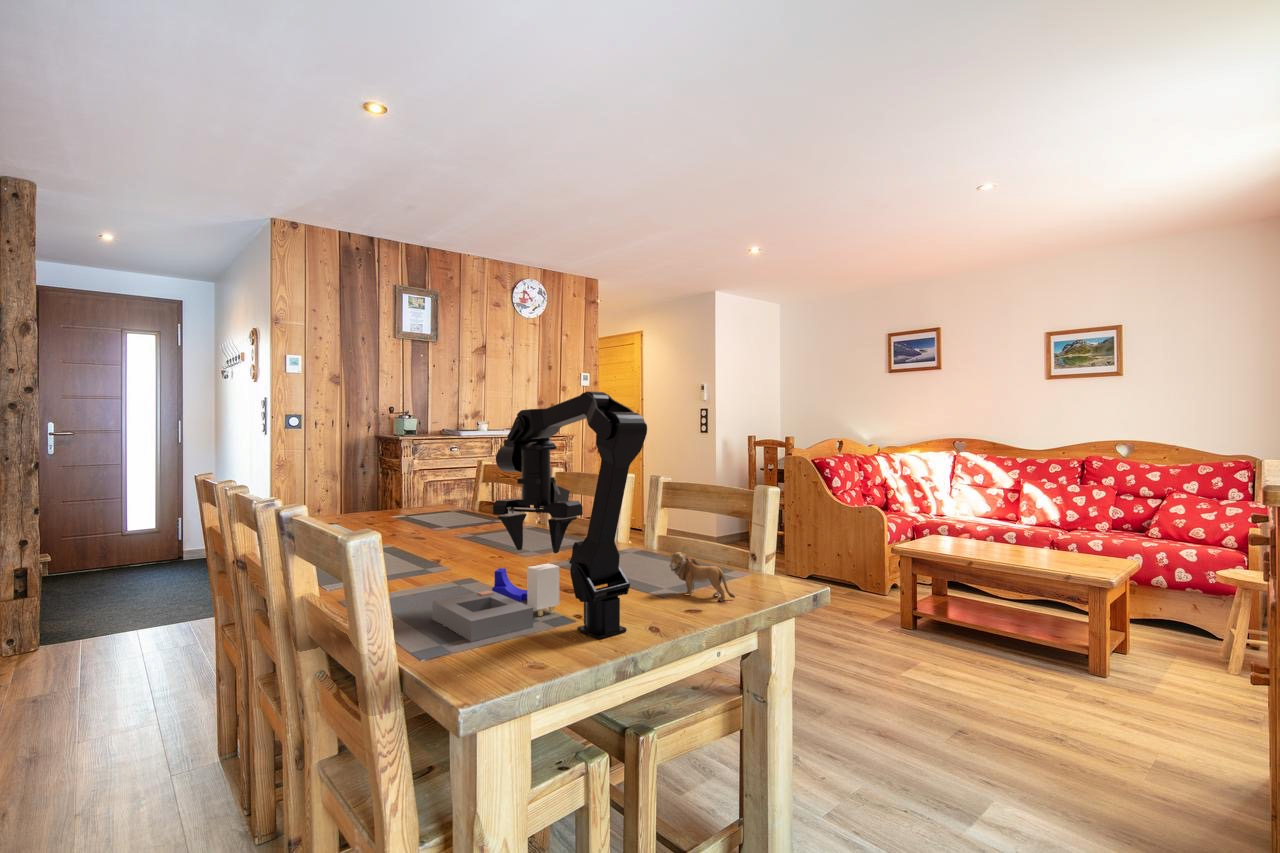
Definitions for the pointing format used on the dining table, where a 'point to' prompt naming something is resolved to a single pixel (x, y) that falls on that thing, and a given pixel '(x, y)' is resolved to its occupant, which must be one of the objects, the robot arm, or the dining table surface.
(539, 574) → the plug
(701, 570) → the lion figurine
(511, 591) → the blue pipe saddle bracket
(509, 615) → the socket block
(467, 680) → the dining table surface
